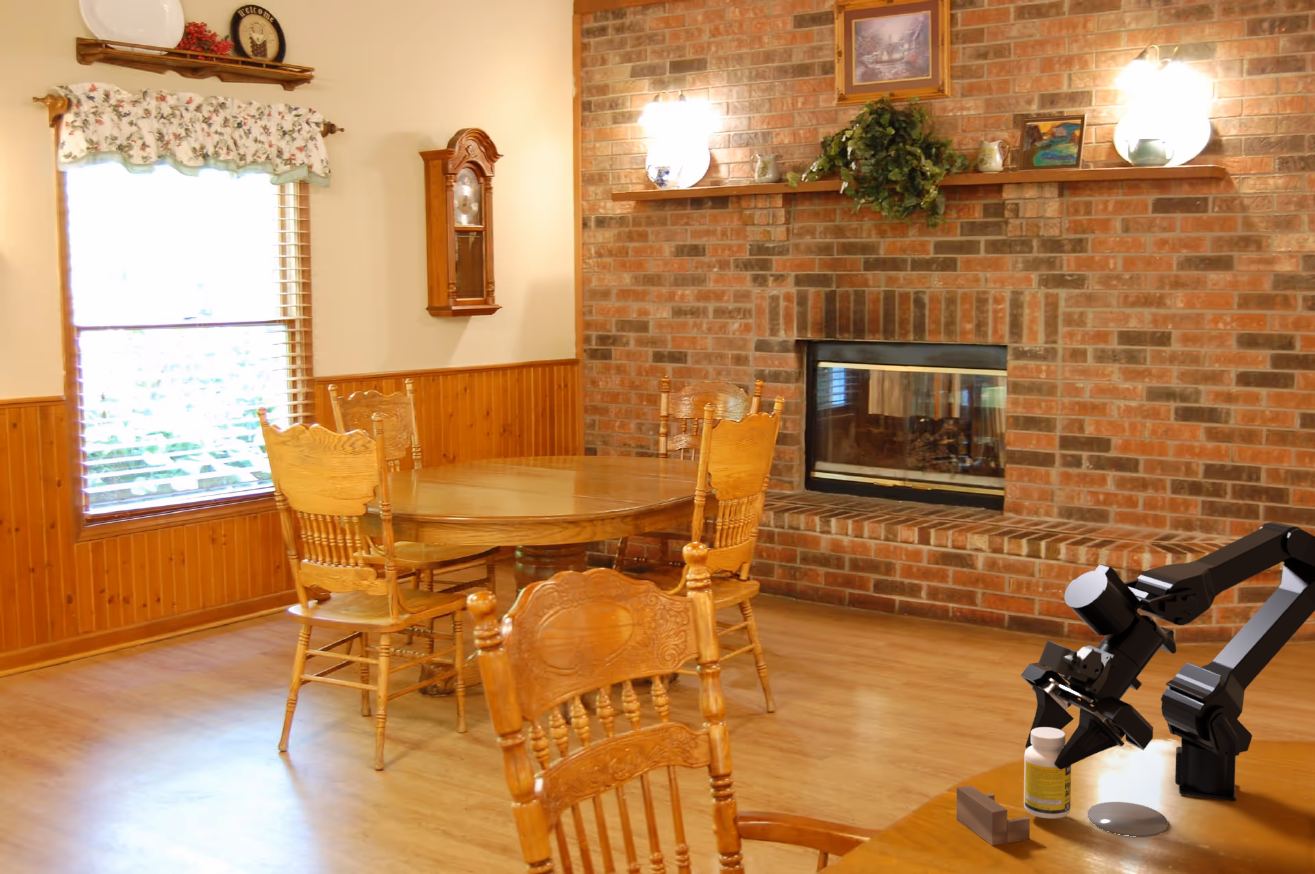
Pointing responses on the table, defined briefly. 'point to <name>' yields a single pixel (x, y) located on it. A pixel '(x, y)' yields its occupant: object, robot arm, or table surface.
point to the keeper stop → (989, 817)
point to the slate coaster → (1127, 819)
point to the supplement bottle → (1046, 775)
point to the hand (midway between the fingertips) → (1042, 758)
